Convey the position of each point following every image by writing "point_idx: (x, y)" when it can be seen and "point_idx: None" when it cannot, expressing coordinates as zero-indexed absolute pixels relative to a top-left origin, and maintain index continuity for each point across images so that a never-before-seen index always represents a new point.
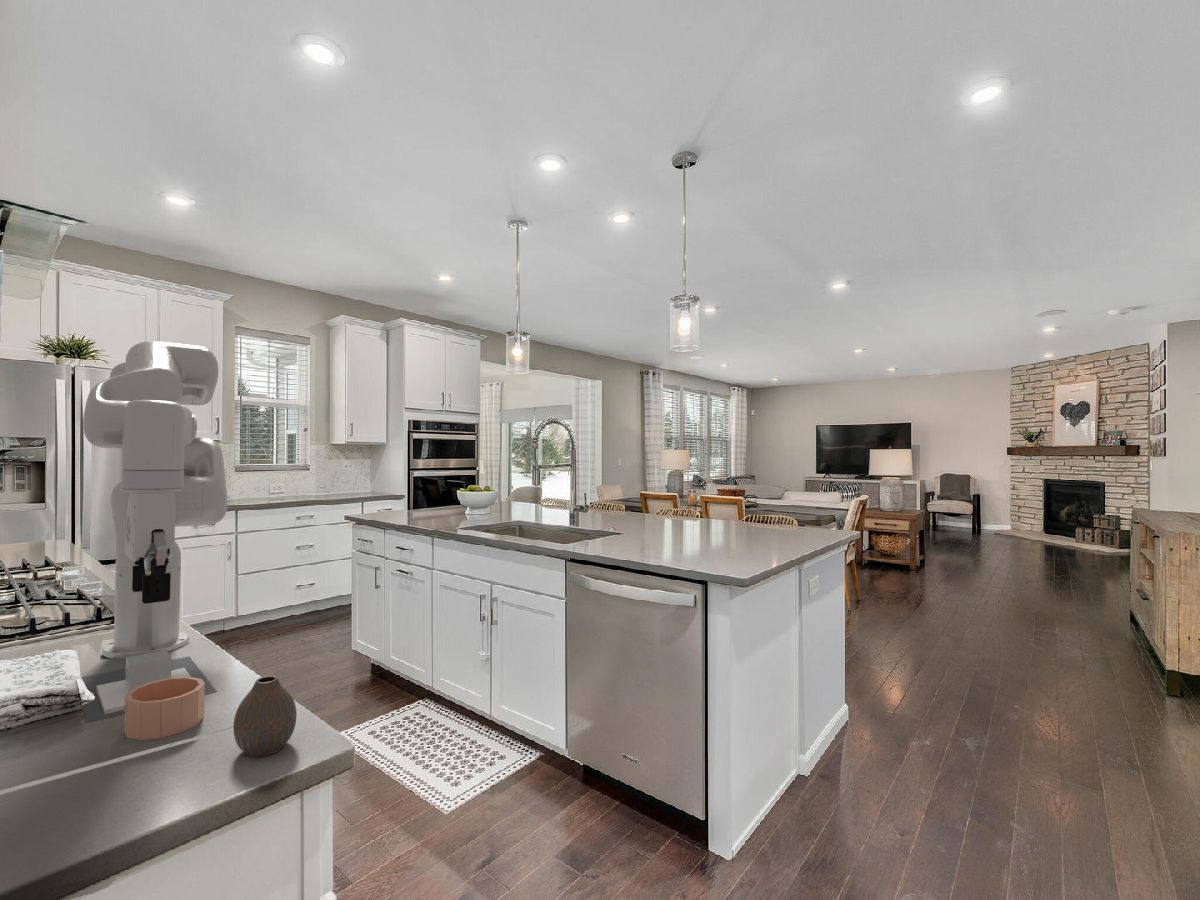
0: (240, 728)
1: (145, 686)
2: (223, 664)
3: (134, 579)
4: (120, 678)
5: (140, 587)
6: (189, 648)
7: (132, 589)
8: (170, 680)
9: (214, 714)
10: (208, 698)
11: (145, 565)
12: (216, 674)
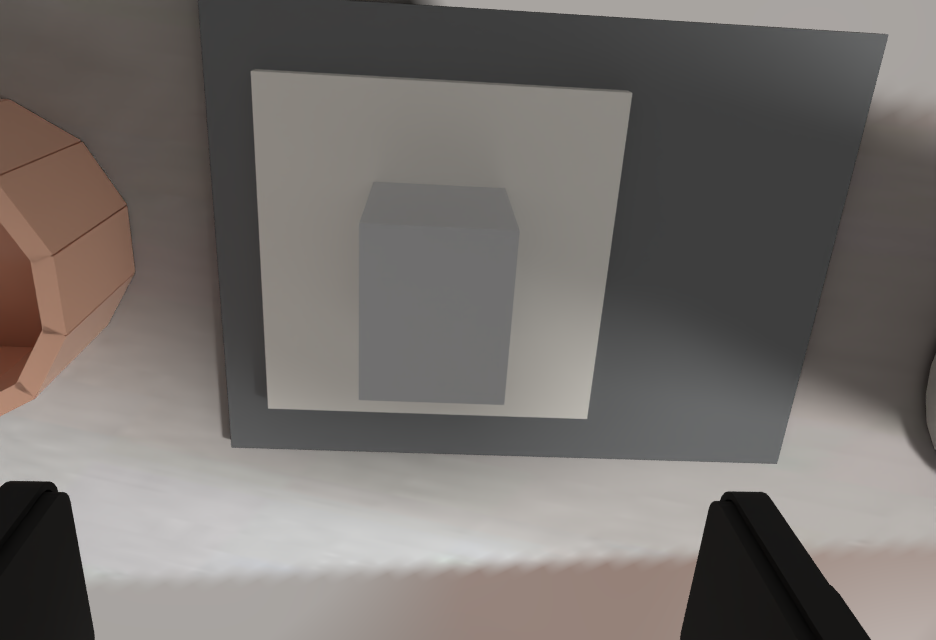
0: None
1: (6, 227)
2: (583, 532)
3: (768, 590)
4: (704, 197)
5: (715, 563)
6: (918, 486)
7: (740, 498)
8: (42, 329)
9: None
10: (213, 409)
11: None
12: (478, 488)
